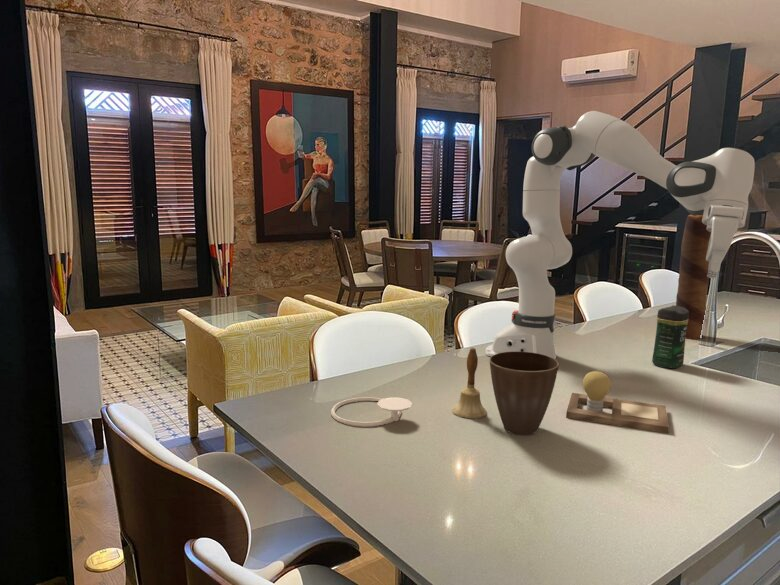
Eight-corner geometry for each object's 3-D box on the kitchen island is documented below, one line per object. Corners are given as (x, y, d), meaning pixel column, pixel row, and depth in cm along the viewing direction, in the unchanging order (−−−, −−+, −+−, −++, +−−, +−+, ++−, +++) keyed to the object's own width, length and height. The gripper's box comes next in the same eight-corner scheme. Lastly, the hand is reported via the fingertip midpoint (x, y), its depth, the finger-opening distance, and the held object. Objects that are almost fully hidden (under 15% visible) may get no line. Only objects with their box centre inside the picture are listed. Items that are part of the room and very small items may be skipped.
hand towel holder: (357, 380, 149) (427, 396, 139) (357, 396, 150) (427, 413, 139) (315, 400, 135) (390, 419, 124) (316, 417, 136) (390, 438, 125)
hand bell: (489, 408, 142) (492, 345, 139) (483, 420, 135) (486, 354, 132) (456, 403, 145) (458, 342, 142) (448, 415, 137) (450, 351, 134)
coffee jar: (674, 371, 174) (681, 310, 170) (648, 364, 179) (654, 306, 176) (687, 364, 180) (693, 306, 177) (661, 359, 186) (667, 302, 182)
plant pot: (515, 448, 120) (519, 374, 118) (473, 422, 133) (476, 355, 131) (568, 435, 127) (573, 365, 124) (523, 411, 140) (527, 348, 137)
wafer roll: (670, 337, 214) (683, 214, 206) (673, 331, 223) (686, 213, 215) (702, 341, 208) (716, 215, 200) (704, 335, 217) (718, 214, 209)
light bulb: (576, 406, 144) (579, 368, 142) (601, 406, 145) (604, 367, 143) (587, 416, 138) (590, 376, 136) (613, 416, 138) (616, 376, 137)
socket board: (566, 417, 137) (566, 410, 137) (571, 398, 150) (572, 391, 149) (668, 433, 129) (669, 426, 129) (664, 411, 142) (665, 404, 141)
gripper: (706, 225, 146) (695, 278, 145) (712, 204, 128) (700, 265, 127) (734, 228, 143) (724, 283, 143) (744, 207, 125) (732, 270, 124)
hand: (712, 274), depth 135 cm, fingers open, 8 cm apart
